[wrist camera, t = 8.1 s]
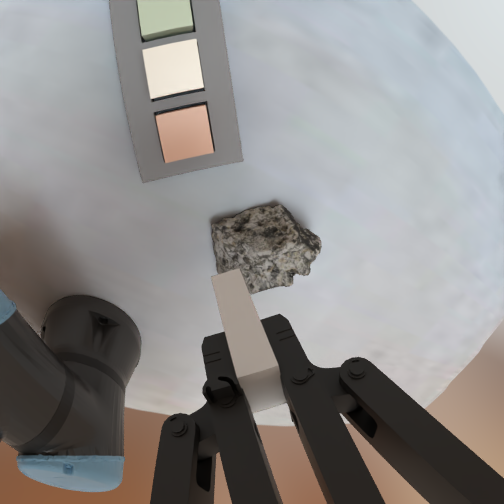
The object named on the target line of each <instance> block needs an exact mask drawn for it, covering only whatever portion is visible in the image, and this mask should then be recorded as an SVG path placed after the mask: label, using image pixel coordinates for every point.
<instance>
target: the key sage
mask: <svg viewBox="0 0 504 504" xmlns="http://www.w3.org/2000/svg"><path fill="white" fill-rule="evenodd" d="M137 3H138V12H139V19H140V27H141V34H142V37H143V38H144V40H145V41H146V42H149V41H153V40H157V39H162V38H166V37H171V36H176V35H181V34H187V33H192V29H193V21H192V14H191V7H190V0H137Z"/></svg>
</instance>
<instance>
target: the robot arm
mask: <svg viewBox="0 0 504 504" xmlns="http://www.w3.org/2000/svg"><path fill="white" fill-rule="evenodd" d="M211 278H212V283H213V287H214V291H215V295H216V299H217V303H218V307H219V311H220V315H221V319H222V323H223V327H224V331H225V332H222V333H218V334H215V335H211V336H208V337H204V340H203V344H202V353H203V357H204V358H203V359H204V364H205V370H206V375H207V381H206V382H205V384H204V386H203V392H202V393H203V395H204V397H205V398H206V400H207V402H206V404H205V405H204V406H203V407H202V408H200V409H199V410H197V411H196V412H194V413H192V414H190V415H187V414H182V413H179V414H174V415H172V416H170V417H168V418H167V420H166V421H165V422H164V424H163V426H162V430H161V436H160V442H159V448H158V454H157V460H156V467H155V473H154V479H153V486H152V494H151V501H150V504H214V485H215V467H216V454H217V453H218V452H220V457H221V461H222V465H223V469H224V473H225V477H226V482H227V485H228V489H229V493H230V497H231V500H232V504H283V502H282V499H281V497H280V494H279V491H278V488H277V485H276V482H275V480H274V477H273V474H272V471H271V468H270V465H269V462H268V459H267V456H266V453H265V450H264V447H263V444H262V440H261V438H260V434H259V431H258V428H257V425H256V423H255V420H254V417H253V414H252V413H256V412H259V411H262V410H266V409H269V408H272V407H275V406H278V405H281V404H284V403H287V404H288V406H289V409H290V414H291V419H292V422H293V421H294V424H295V426H296V429H297V431H298V434H299V436H300V439H301V441H302V444H303V446H304V449H305V451H306V454H307V456H308V459H309V461H310V463H311V466H312V468H313V470H314V473H315V476H316V478H317V480H318V483H319V485H320V487H321V490H322V492H323V495H324V497H325V499H326V502H327V504H385V502H384V500H383V498H382V496H381V494H380V492H379V490H378V488H377V486H376V484H375V482H374V480H373V478H372V476H371V474H370V472H369V470H368V468H367V467H366V465H365V463H364V461H363V459H362V457H361V455H360V453H359V451H358V449H357V447H356V445H355V443H354V441H353V439H352V437H351V435H350V433H349V431H348V429H347V427H346V426H345V423H344V422H343V420H342V418H341V416H340V414H339V413H341V414H342V415H343V416H344V417H345V418H346V419H347V420H348V421H349V422H350V423H351V424H352V425H353V426H354V428H355V429H356V430H357V431H358V432H359V433H360V434H361V435H362V436H363V437H364V438H365V439H366V440H367V441H368V442H369V443H370V444H371V445H372V446H373V447H374V448H375V449H376V451H378V453H379V454H380V455H381V456H382V457H383V458H384V459H385V460H386V461H387V462H388V463H389V464H390V465H391V466H392V467H393V468H394V469H395V470H396V471H397V472H398V473H399V474H400V475H401V476H402V477H403V478H404V479H405V480H406V481H407V482H408V483H409V484H410V485H411V486H412V487H413V488H414V489H415V490H416V491H417V492H418V493H419V494H421V496H422V497H423V498H424V499H426V500H427V501H428V502H429V503H430V504H504V478H503V477H501V476H500V475H499V474H498V473H497V472H496V471H495V470H493V469H492V468H491V467H490V466H489V465H487V464H486V463H485V462H484V461H483V460H482V459H481V458H480V457H478V456H477V455H476V454H475V453H474V452H473V451H472V450H470V449H469V448H468V447H467V446H466V445H465V444H463V443H462V442H461V441H460V440H459V439H458V438H457V437H456V436H454V435H453V434H452V433H451V432H450V431H449V430H448V429H446V428H445V427H444V426H443V425H442V424H441V423H440V422H438V421H437V420H436V419H435V418H434V417H433V416H431V415H430V414H429V413H428V412H427V411H426V410H425V409H424V408H422V407H421V406H420V405H419V404H418V403H417V402H416V401H414V400H413V399H412V398H411V397H410V396H409V395H408V394H406V393H405V392H404V391H403V390H402V389H401V388H400V387H399V386H397V385H396V384H395V383H394V382H393V381H392V380H391V379H389V378H388V377H387V376H386V375H385V374H384V373H383V372H381V371H380V370H379V369H378V368H377V367H376V366H375V365H373V364H372V363H371V362H370V361H368V360H367V359H365V358H360V357H355V358H350V359H348V360H346V361H345V362H344V363H343V364H342V365H341V367H337V368H320V367H317V366H315V365H313V364H312V363H311V362H310V361H309V360H308V358H307V356H306V354H305V352H304V350H303V348H302V346H301V344H300V342H299V340H298V338H297V337H296V335H295V333H294V331H293V329H292V327H291V325H290V323H289V321H288V319H286V318H285V317H284V316H282V315H281V314H278V315H274V316H271V317H268V318H265V319H262V320H260V319H259V316H258V314H257V311H256V309H255V306H254V304H253V301H252V299H251V296H250V294H249V291H248V289H247V286H246V284H245V281H244V279H243V276H242V274H241V271H240V269H235V270H232V271H228V272H225V273H222V274H218V275H215V276H212V277H211ZM140 353H141V337H140V334H139V331H138V329H137V327H136V325H135V324H134V322H133V321H132V320H131V319H130V318H129V317H128V316H127V315H126V314H125V313H124V312H123V311H122V310H120V309H119V308H117V307H116V306H114V305H112V304H110V303H108V302H106V301H104V300H101V299H98V298H94V297H89V296H70V297H66V298H63V299H61V300H59V301H57V302H55V303H54V304H53V305H52V306H51V307H50V308H49V310H48V312H47V314H46V316H45V319H44V321H43V324H42V328H41V338H40V337H39V336H38V335H37V334H36V332H35V331H34V330H33V329H32V328H31V327H30V325H29V324H28V323H27V322H26V321H25V319H24V318H23V317H22V316H21V314H20V313H19V312H18V311H17V309H16V304H15V303H14V302H13V301H11V300H9V299H8V297H7V296H6V295H5V294H4V293H3V291H2V290H1V289H0V442H1V441H4V442H5V443H7V444H8V445H10V446H11V447H12V448H14V449H15V450H17V451H18V452H19V454H18V456H17V458H16V460H17V463H18V468H19V470H20V471H22V473H23V474H24V475H26V476H28V477H30V478H32V479H34V480H36V481H39V482H42V483H45V484H48V485H51V486H55V487H59V488H63V489H69V490H75V491H85V492H103V491H109V490H113V489H115V488H117V487H118V485H119V484H120V483H121V482H122V474H123V463H124V461H125V457H124V404H125V388H126V386H127V384H128V382H129V380H130V378H131V376H132V374H133V372H134V369H135V368H136V366H137V365H138V362H139V359H140Z"/></svg>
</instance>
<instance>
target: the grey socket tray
mask: <svg viewBox="0 0 504 504" xmlns="http://www.w3.org/2000/svg"><path fill="white" fill-rule="evenodd" d="M109 4H110V14H111V22H112V30H113V38H114V45H115V51H116V58H117V64H118V70H119V76H120V82H121V87H122V93H123V98H124V103H125V108H126V113H127V118H128V123H129V127H130V132H131V137H132V141H133V145H134V150H135V154H136V158H137V162H138V166H139V170H140V174H141V178H142V182H143V183H146V182H150V181H154V180H158V179H162V178H166V177H170V176H174V175H179V174H183V173H187V172H192V171H197V170H201V169H206V168H211V167H216V166H221V165H226V164H231V163H236V162H242V161H243V156H242V149H241V142H240V135H239V128H238V122H237V115H236V108H235V101H234V95H233V88H232V81H231V75H230V68H229V61H228V55H227V48H226V42H225V35H224V28H223V22H222V15H221V9H220V2H219V0H190V7H191V14H192V21H193V29H194V32H192V33H187V34H181V35H176V36H171V37H166V38H162V39H157V40H153V41H149V42H144V38H143V37H142V34H141V27H140V19H139V12H138V3H137V0H109ZM191 39H196V40H197V46H198V53H199V59H200V66H201V72H202V78H203V84H204V88H203V91H201V92H196V93H191V94H186V95H181V96H177V97H172V98H168V99H163V100H159V101H154V99H151V98H150V93H149V87H148V81H147V76H146V70H145V64H144V57H143V51H142V50H144V49H148V48H153V47H157V46H161V45H166V44H170V43H175V42H180V41H186V40H191ZM204 101H205V105H206V109H207V115H208V121H209V127H210V133H211V139H212V145H213V150H214V153H210V154H205V155H200V156H196V157H191V158H186V159H182V160H177V161H173V162H169V163H165V159H164V155H163V150H162V145H161V141H160V136H159V131H158V126H157V121H156V115H157V111H161V110H166V109H170V108H174V107H179V106H184V105H188V104H193V103H199V102H204Z"/></svg>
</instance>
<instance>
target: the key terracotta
mask: <svg viewBox="0 0 504 504" xmlns="http://www.w3.org/2000/svg"><path fill="white" fill-rule="evenodd" d="M156 121H157V126H158V131H159V136H160V141H161V145H162V150H163V155H164V159H165V163H169V162H173V161H177V160H182V159H186V158H191V157H196V156H200V155H205V154H210V153H214V150H213V145H212V139H211V133H210V127H209V121H208V115H207V109H206V105H204V104H200V105H195V106H190V107H185V108H180V109H176V110H171V111H167V112H163V113H159V114H158V115H156Z"/></svg>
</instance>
